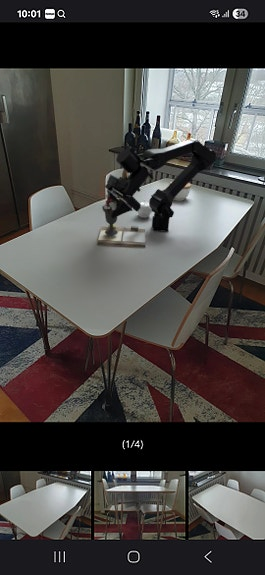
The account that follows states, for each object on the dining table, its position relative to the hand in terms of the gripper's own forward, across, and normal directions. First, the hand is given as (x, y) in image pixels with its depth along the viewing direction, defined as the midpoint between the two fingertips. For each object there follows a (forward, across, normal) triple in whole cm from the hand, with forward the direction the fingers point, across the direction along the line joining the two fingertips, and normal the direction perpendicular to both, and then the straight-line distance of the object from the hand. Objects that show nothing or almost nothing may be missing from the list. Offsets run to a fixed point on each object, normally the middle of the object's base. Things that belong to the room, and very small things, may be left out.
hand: (107, 214), depth 117 cm
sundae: (+4, 0, +6) cm, 8 cm away
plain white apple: (-10, -14, +25) cm, 30 cm away
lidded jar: (-31, -28, +46) cm, 62 cm away
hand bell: (-10, -33, +25) cm, 42 cm away
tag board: (+3, +1, +11) cm, 12 cm away
